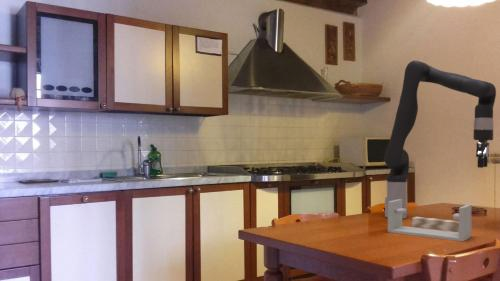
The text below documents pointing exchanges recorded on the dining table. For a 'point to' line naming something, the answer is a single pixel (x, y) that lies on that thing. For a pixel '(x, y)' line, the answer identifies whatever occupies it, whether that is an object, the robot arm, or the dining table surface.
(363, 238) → the dining table surface
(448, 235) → the grey c-shaped frame
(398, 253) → the dining table surface
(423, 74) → the robot arm
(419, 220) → the shelf board
